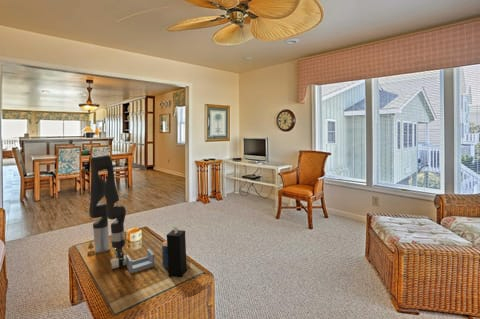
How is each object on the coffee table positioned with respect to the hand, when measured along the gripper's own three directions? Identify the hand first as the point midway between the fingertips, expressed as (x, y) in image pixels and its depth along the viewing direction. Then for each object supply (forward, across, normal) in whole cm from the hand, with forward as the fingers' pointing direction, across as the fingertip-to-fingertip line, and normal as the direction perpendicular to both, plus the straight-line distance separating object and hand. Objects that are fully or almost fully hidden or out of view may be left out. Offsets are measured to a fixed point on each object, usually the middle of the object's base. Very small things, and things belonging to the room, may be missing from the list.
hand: (119, 264), depth 161 cm
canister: (+1, +18, +27) cm, 33 cm away
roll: (+1, +2, 0) cm, 2 cm away
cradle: (+1, +8, +10) cm, 13 cm away
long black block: (+1, +30, +25) cm, 39 cm away
